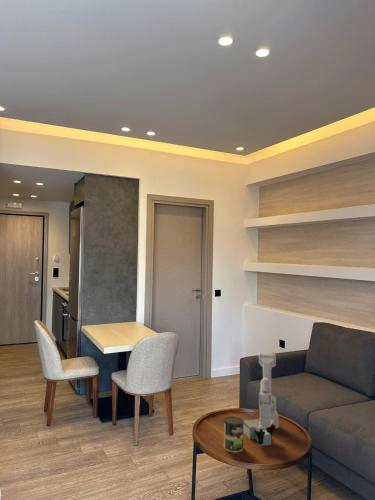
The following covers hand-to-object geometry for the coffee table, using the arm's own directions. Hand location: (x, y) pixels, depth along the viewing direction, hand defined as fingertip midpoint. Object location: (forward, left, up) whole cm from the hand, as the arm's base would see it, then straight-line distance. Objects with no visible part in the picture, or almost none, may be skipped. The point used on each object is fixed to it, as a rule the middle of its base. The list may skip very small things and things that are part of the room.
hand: (265, 441), depth 196 cm
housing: (0, -12, -1) cm, 12 cm away
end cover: (0, -3, -1) cm, 4 cm away
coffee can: (+18, 0, -2) cm, 18 cm away
